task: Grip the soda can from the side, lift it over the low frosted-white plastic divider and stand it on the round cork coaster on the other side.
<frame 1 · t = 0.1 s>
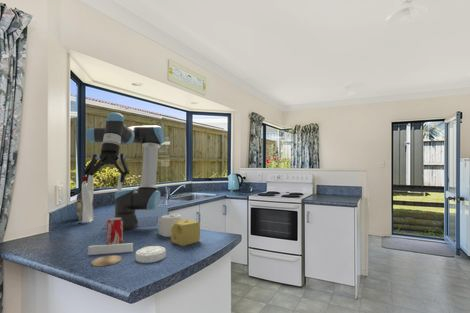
hand: (103, 190, 117), 28 cm above the countertop, tool tilted 20°, fingers open, 13 cm apart
coaster: (106, 261, 108), on the countertop
toilet tissue: (170, 234, 148), on the countertop
soda can: (114, 246, 129), on the countertop
white bottle: (87, 222, 182), on the countertop
mooncake: (150, 258, 112), on the countertop
divider: (111, 252, 118), on the countertop
liquor: (85, 218, 194), on the countertop
cheese: (185, 242, 133), on the countertop
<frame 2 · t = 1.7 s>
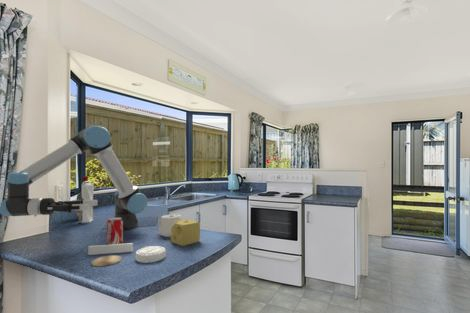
hand: (93, 204, 127), 20 cm above the countertop, tool horizontal, fingers open, 13 cm apart
nothing on the countertop moved.
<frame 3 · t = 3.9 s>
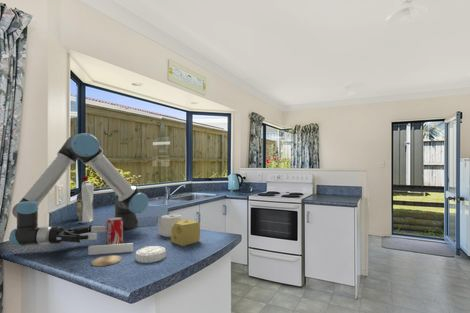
hand: (101, 232, 127), 7 cm above the countertop, tool horizontal, fingers open, 13 cm apart
nothing on the countertop moved.
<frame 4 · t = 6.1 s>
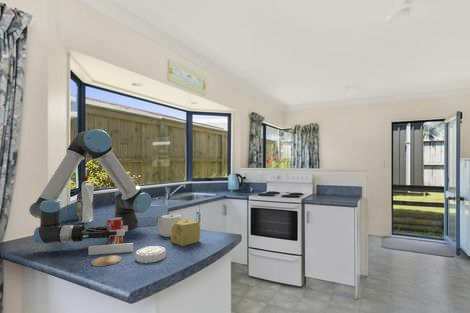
hand: (126, 230, 130), 7 cm above the countertop, tool horizontal, fingers closed on soda can, 6 cm apart
soda can: (114, 246, 129), on the countertop, touching gripper
everything else where it was.
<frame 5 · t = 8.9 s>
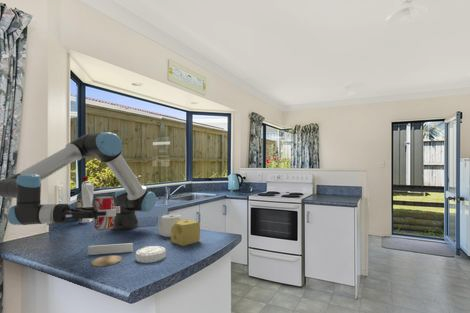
hand: (117, 211, 111), 20 cm above the countertop, tool horizontal, fingers closed on soda can, 6 cm apart
soda can: (104, 229, 110), point 12 cm above the countertop, touching gripper
everything else where it was.
when the fingers open (8 cm above the countertop, at t = 11.5 s): soda can stays where it is, resting on coaster.
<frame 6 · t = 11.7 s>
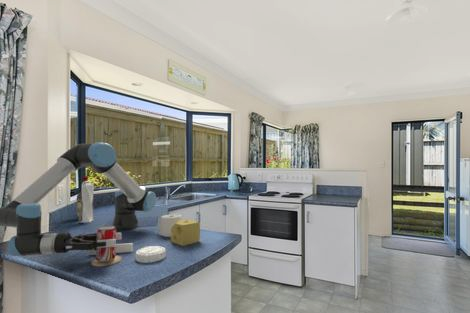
hand: (118, 239, 109), 8 cm above the countertop, tool horizontal, fingers open, 9 cm apart
soda can: (105, 260, 108), resting on coaster
everything else where it was.
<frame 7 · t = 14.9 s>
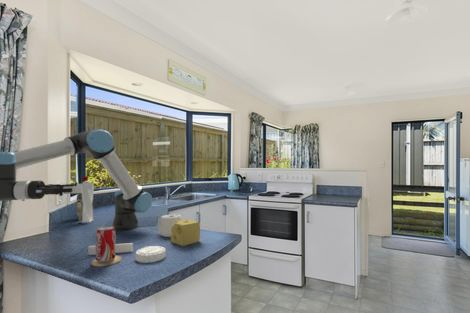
hand: (87, 187, 114), 29 cm above the countertop, tool horizontal, fingers open, 13 cm apart
nothing on the countertop moved.
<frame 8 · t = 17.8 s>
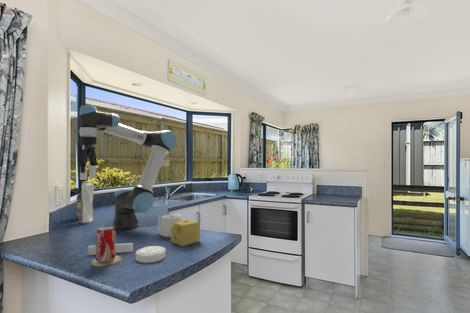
hand: (88, 178, 135), 32 cm above the countertop, tool pointing down, fingers open, 13 cm apart
nothing on the countertop moved.
at the end: soda can 0.4 cm from the coaster (horizontally); soda can tilted 0°; the gripper is holding nothing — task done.
